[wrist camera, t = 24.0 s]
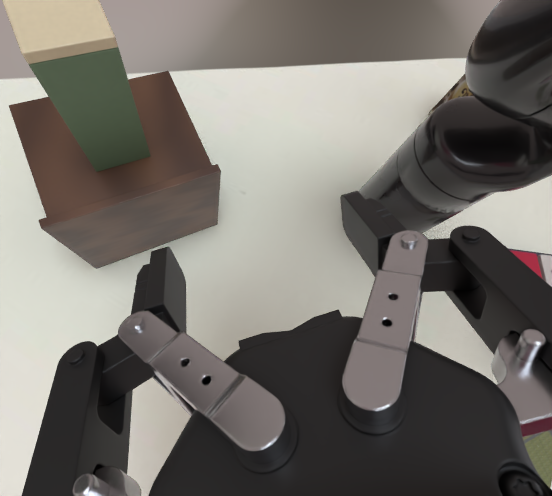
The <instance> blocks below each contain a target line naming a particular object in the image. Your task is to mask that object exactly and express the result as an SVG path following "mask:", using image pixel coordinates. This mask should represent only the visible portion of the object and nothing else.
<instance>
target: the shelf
mask: <svg viewBox="0 0 552 496" xmlns="http://www.w3.org/2000/svg"><path fill="white" fill-rule="evenodd" d="M128 82H129V85H130V88H131V92H132V95H133V98H134V102H135V105H136V108H137V112H138V115H139V118H140V122H141V125H142V128H143V132H144V135H145V138H146V142H147V145H148V148H149V152H150V155H151V156H150V157H147V158H143V159H140V160H136V161H133V162H129V163H126V164H122V165H119V166H116V167H112V168H109V169H105V170H102V171H98V172H96V171H95V169H94V167H93V166H92V164H91V163H90V161H89V159H88V158H87V156H86V155H85V153H84V152H83V150H82V148H81V147H80V145H79V144H78V142H77V140H76V139H75V137H74V136H73V134H72V133H71V131H70V129H69V128H68V126H67V125H66V123H65V121H64V120H63V118H62V117H61V115H60V114H59V112H58V110H57V109H56V107H55V106H54V104H53V102H52V101H51V99H50V98H49V97H46V98H41V99H36V100H32V101H27V102H23V103H18V104H13V105H9V108H10V111H11V114H12V117H13V120H14V122H15V125H16V128H17V131H18V134H19V137H20V140H21V143H22V146H23V149H24V152H25V155H26V158H27V161H28V164H29V166H30V169H31V172H32V175H33V178H34V181H35V184H36V187H37V190H38V193H39V196H40V199H41V202H42V205H43V207H44V210H45V213H46V216H47V217H46V218H43V219H40V220H39V223H40V226H41V228H42V229H43V230H44V231H46V232H47V233H48V234H50V235H51V236H52V237H54V238H55V239H57V240H58V241H59V242H61V243H62V244H63V245H65V246H66V247H68V248H69V249H70V250H72V251H73V252H74V253H76V254H77V255H79V256H80V257H81V258H83V259H84V260H85V261H87V262H88V263H89V264H91V265H92V266H94V267H95V268H99V267H102V266H105V265H107V264H110V263H113V262H116V261H118V260H121V259H124V258H127V257H129V256H132V255H135V254H137V253H140V252H143V251H146V250H148V249H151V248H154V247H157V246H159V245H162V244H165V243H167V242H170V241H173V240H176V239H178V238H181V237H184V236H187V235H189V234H192V233H195V232H197V231H200V230H203V229H206V228H208V227H211V226H214V225H217V221H218V206H219V190H220V174H221V171H220V169H219V166H218V165H217V164H216V165H213V166H212V164H211V162H210V160H209V158H208V156H207V154H206V151H205V149H204V147H203V145H202V143H201V141H200V138H199V136H198V134H197V132H196V130H195V128H194V125H193V123H192V121H191V119H190V117H189V115H188V112H187V110H186V108H185V106H184V104H183V102H182V99H181V97H180V95H179V93H178V91H177V89H176V86H175V84H174V82H173V80H172V78H171V76H170V73H169V72H168V71H165V72H161V73H156V74H152V75H147V76H142V77H138V78H133V79H129V80H128Z"/></svg>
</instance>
